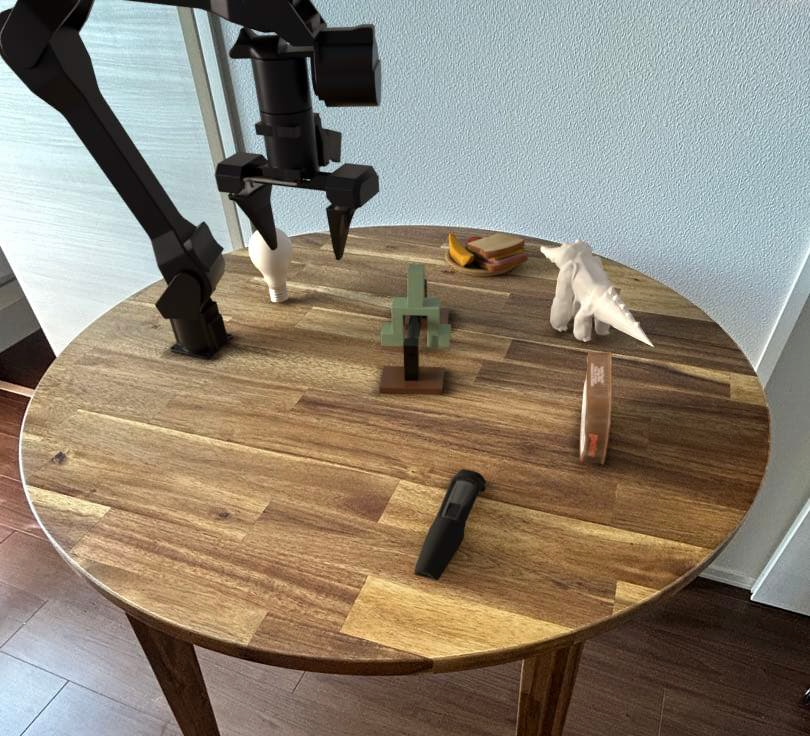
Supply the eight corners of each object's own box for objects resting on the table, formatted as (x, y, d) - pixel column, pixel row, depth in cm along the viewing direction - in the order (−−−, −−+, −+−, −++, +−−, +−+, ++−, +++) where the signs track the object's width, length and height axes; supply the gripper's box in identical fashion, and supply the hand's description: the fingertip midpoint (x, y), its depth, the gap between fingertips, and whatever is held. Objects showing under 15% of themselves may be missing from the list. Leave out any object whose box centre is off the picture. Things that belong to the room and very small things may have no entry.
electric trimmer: (403, 585, 61) (402, 563, 59) (455, 480, 71) (455, 457, 68) (441, 596, 60) (442, 574, 58) (488, 487, 70) (490, 465, 67)
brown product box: (602, 480, 70) (618, 416, 64) (572, 477, 70) (586, 413, 64) (603, 400, 80) (617, 337, 74) (577, 397, 80) (589, 335, 74)
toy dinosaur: (553, 295, 98) (564, 219, 90) (666, 370, 84) (691, 287, 76) (516, 306, 96) (524, 229, 88) (624, 385, 82) (645, 302, 74)
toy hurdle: (379, 392, 82) (376, 351, 78) (395, 311, 97) (393, 273, 92) (442, 394, 82) (442, 353, 77) (448, 312, 96) (449, 274, 92)
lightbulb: (309, 297, 100) (298, 224, 92) (282, 315, 97) (269, 240, 89) (277, 288, 103) (264, 216, 95) (250, 305, 99) (235, 231, 91)
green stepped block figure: (381, 345, 87) (378, 273, 80) (383, 334, 89) (380, 262, 82) (449, 347, 87) (452, 274, 79) (450, 336, 89) (453, 264, 82)
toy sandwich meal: (499, 241, 113) (502, 212, 109) (537, 272, 104) (541, 242, 100) (433, 254, 110) (433, 225, 106) (466, 287, 101) (467, 257, 98)
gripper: (395, 94, 72) (400, 238, 83) (250, 84, 77) (274, 220, 88) (351, 122, 65) (364, 275, 76) (196, 109, 70) (229, 254, 81)
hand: (306, 254), depth 81 cm, fingers open, 9 cm apart
